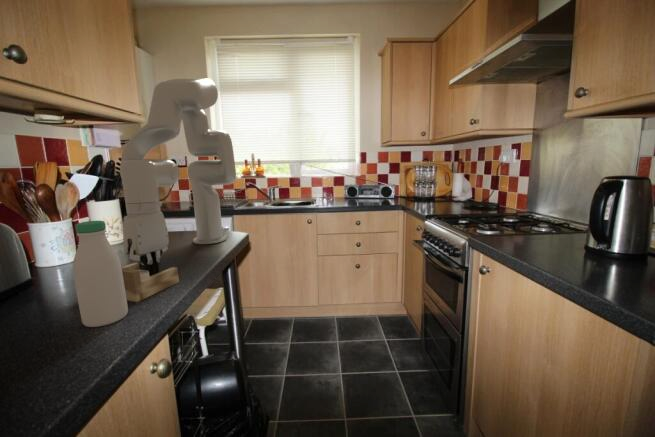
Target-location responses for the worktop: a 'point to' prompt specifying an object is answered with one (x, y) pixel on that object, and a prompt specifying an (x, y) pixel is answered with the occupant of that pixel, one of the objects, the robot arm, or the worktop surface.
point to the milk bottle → (98, 277)
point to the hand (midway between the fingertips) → (152, 276)
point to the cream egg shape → (144, 274)
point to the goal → (146, 282)
